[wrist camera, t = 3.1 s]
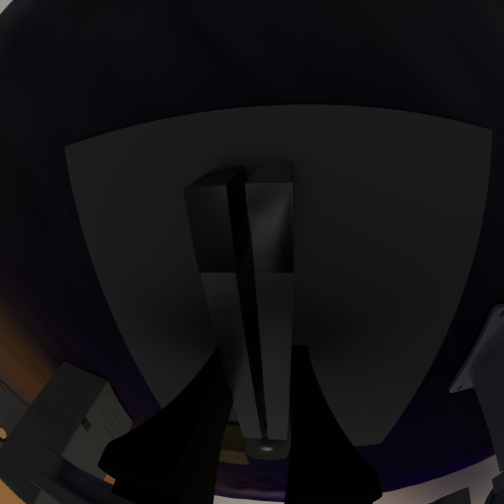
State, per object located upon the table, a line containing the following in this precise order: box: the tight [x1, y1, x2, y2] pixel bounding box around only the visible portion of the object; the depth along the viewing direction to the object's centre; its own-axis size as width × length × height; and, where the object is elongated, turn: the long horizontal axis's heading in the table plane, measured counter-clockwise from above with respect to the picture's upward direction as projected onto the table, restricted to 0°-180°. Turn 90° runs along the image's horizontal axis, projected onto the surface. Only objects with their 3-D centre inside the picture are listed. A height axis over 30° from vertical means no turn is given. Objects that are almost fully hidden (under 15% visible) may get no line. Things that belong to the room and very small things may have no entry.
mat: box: [65, 105, 492, 449], centre depth 14 cm, size 18×24×1 cm
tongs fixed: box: [244, 163, 294, 460], centre depth 11 cm, size 3×16×3 cm, turn 4°
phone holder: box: [0, 380, 30, 449], centre depth 31 cm, size 17×10×18 cm, turn 54°
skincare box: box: [0, 362, 132, 504], centre depth 14 cm, size 8×6×15 cm
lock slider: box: [219, 425, 250, 465], centre depth 16 cm, size 2×3×2 cm
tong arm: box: [183, 166, 266, 439], centre depth 11 cm, size 1×13×3 cm, turn 5°
